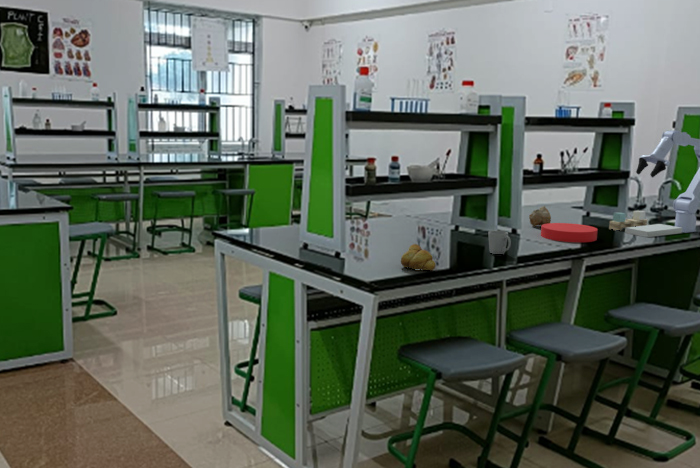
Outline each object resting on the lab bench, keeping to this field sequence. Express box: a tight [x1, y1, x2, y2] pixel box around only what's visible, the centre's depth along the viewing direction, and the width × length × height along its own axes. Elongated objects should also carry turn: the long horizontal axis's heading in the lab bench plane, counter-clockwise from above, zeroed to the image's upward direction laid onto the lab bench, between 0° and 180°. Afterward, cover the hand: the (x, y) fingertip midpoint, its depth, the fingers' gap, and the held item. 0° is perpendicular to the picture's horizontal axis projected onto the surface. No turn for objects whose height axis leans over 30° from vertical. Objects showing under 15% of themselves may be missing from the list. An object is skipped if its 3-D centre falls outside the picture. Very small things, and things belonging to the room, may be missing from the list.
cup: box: [488, 230, 512, 255], centre depth 259 cm, size 8×10×8 cm
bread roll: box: [400, 243, 436, 271], centre depth 231 cm, size 13×10×8 cm
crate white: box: [632, 210, 646, 220], centre depth 329 cm, size 4×4×4 cm
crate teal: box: [612, 211, 627, 222], centre depth 321 cm, size 4×4×4 cm
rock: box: [528, 206, 552, 227], centre depth 326 cm, size 12×10×10 cm
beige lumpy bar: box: [608, 218, 648, 231], centre depth 326 cm, size 22×5×4 cm, turn 121°
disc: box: [540, 222, 598, 243], centre depth 299 cm, size 24×5×24 cm
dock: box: [624, 223, 683, 238], centre depth 314 cm, size 26×12×2 cm, turn 121°
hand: (644, 174), depth 305 cm, fingers open, 7 cm apart
